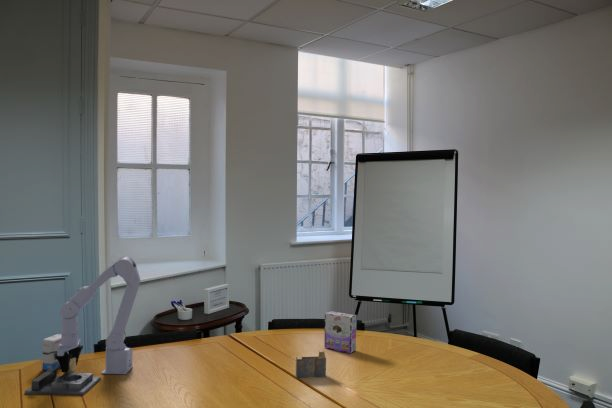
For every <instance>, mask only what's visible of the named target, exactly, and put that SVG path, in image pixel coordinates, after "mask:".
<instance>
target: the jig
mask: <svg viewBox="0 0 612 408" xmlns="http://www.w3.org/2000/svg"><path fill="white" fill-rule="evenodd" d="M57 371H58V368H57V369H49V370H45V372H43V373H42V374H40V375H38V376H37V377H36V378H34V379H33V380H31V386H30V387H28V388H26V389H25V391H24V395H52V396H53V395H56V396H57V395H61V396H63V395H65V396H67V395H69V396H84V395H85V394H86V393H88V392H89V391H90V390H91V389H92V388H93V387H94V386H95V385H96V384H97V383H98V382H99V381H100V380H101V376H94V373H93V372H76V373H65V374H63V373H62V375H57Z"/></svg>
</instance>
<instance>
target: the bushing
mask: <svg viewBox="0 0 612 408" xmlns="http://www.w3.org/2000/svg"><path fill="white" fill-rule="evenodd" d="M76 369H77V365H76V357H75V356H72V357H71V359H70V363H69V370H68V372H62V375H63V374H65V373H77V372H76V371H77V370H76Z"/></svg>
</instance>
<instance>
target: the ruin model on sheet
mask: <svg viewBox="0 0 612 408" xmlns="http://www.w3.org/2000/svg"><path fill="white" fill-rule="evenodd" d="M295 357H296V358H295V377H296V378H295V379H306V378H305V377H316V378H326V377H327V358H326V352H325V351H320V350H319V351H318V356H301V358H298V356H295Z"/></svg>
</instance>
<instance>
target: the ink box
mask: <svg viewBox="0 0 612 408" xmlns="http://www.w3.org/2000/svg"><path fill="white" fill-rule="evenodd" d="M59 344H61V333H56V334H54V335H51V336H49V337H46V338H43V340H42V363H41V364H42V367H41V369H42V370H43V371H47V370H49V369H57V370H58V369H59V368H60V364H59V362H58V360H57V359H56V357H55V354H57V351H58V350H59V348H60V347H58V345H59Z"/></svg>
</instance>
